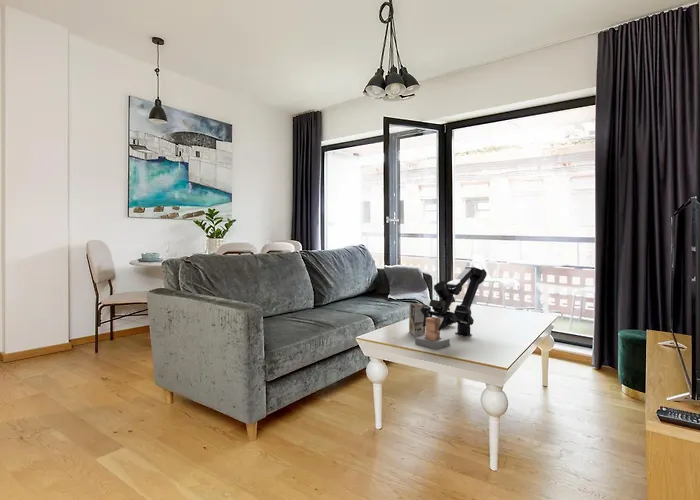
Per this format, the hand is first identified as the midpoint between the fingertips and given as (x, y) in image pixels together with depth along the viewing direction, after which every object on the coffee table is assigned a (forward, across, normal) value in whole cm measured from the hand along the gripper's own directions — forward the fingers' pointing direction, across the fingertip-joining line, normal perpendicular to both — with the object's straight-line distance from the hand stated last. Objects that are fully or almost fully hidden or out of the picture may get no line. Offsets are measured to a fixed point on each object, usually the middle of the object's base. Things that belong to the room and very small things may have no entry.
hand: (431, 328), depth 195 cm
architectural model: (-21, -18, +33) cm, 43 cm away
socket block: (+5, 0, +7) cm, 8 cm away
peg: (+5, 0, +7) cm, 8 cm away
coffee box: (-2, -17, +14) cm, 22 cm away
